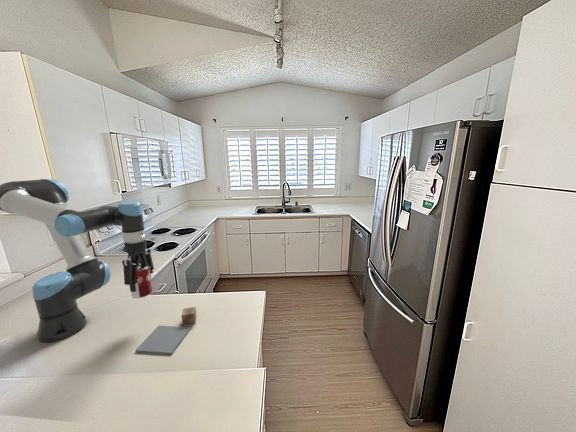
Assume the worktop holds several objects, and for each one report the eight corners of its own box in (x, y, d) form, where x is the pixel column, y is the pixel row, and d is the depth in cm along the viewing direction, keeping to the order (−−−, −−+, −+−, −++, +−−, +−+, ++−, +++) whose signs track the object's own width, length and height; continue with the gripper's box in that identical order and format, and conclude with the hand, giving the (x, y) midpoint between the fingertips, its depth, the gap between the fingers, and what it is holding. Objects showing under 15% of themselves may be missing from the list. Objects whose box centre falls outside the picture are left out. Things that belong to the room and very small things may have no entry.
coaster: (135, 352, 92) (135, 350, 91) (158, 327, 105) (158, 325, 105) (171, 354, 90) (171, 352, 90) (190, 329, 104) (190, 327, 103)
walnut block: (182, 325, 106) (181, 315, 105) (184, 318, 111) (183, 308, 109) (195, 323, 107) (194, 313, 106) (196, 317, 112) (195, 306, 111)
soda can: (148, 288, 111) (144, 262, 108) (155, 293, 107) (152, 266, 104) (130, 294, 106) (125, 268, 103) (137, 300, 101) (132, 273, 98)
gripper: (125, 249, 91) (134, 306, 96) (159, 233, 110) (165, 281, 115) (106, 249, 91) (115, 305, 97) (143, 233, 111) (149, 280, 116)
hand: (142, 292), depth 106 cm, fingers closed on soda can, 7 cm apart
